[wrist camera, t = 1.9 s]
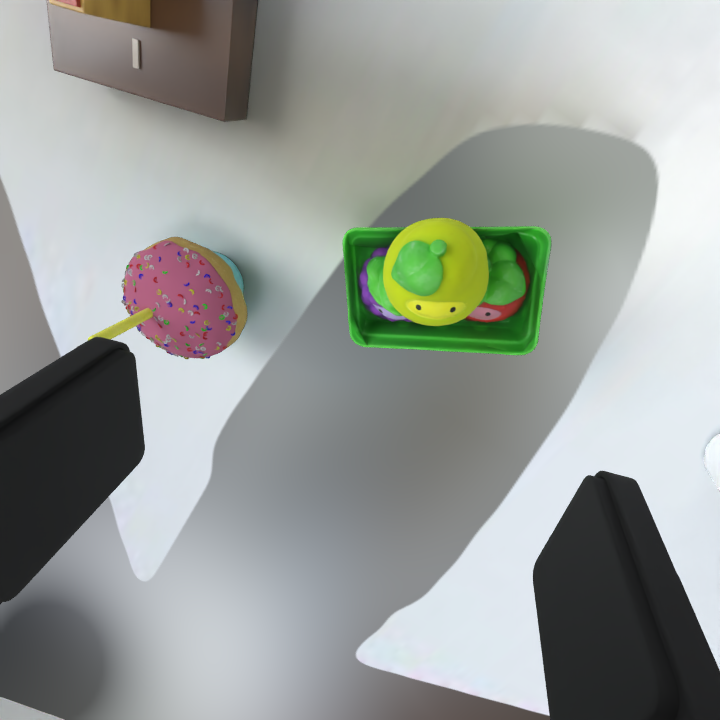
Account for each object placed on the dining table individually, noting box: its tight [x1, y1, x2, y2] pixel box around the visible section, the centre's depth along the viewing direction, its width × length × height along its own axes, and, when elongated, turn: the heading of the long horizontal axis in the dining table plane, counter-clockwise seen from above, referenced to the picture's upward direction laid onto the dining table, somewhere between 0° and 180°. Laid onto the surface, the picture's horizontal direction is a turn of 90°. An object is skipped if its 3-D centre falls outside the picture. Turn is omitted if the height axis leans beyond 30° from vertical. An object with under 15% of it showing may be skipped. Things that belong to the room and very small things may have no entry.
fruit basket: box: [343, 218, 551, 355], centre depth 26 cm, size 11×9×11 cm
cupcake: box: [78, 237, 247, 359], centre depth 30 cm, size 9×8×12 cm
